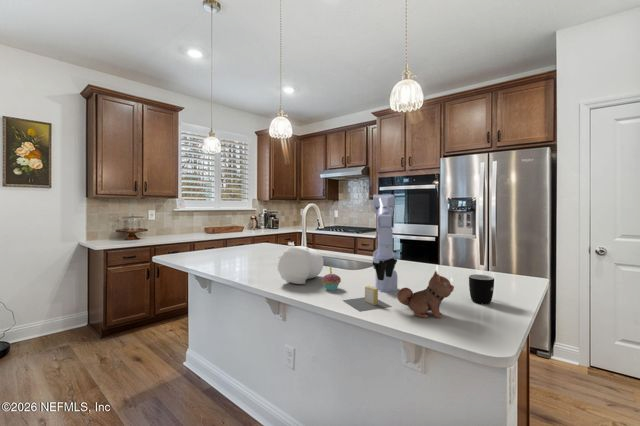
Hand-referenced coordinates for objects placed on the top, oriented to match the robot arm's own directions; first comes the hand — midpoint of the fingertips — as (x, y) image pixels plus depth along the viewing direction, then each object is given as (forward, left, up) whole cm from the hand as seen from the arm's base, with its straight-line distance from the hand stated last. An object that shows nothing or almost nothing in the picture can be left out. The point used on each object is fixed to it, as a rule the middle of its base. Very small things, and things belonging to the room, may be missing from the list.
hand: (384, 278), depth 125 cm
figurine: (-5, +17, -10) cm, 20 cm away
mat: (+9, 0, -9) cm, 13 cm away
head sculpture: (+20, -47, -10) cm, 52 cm away
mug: (-36, +14, -10) cm, 40 cm away
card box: (+7, 0, -9) cm, 11 cm away
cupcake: (+13, -24, -10) cm, 29 cm away
